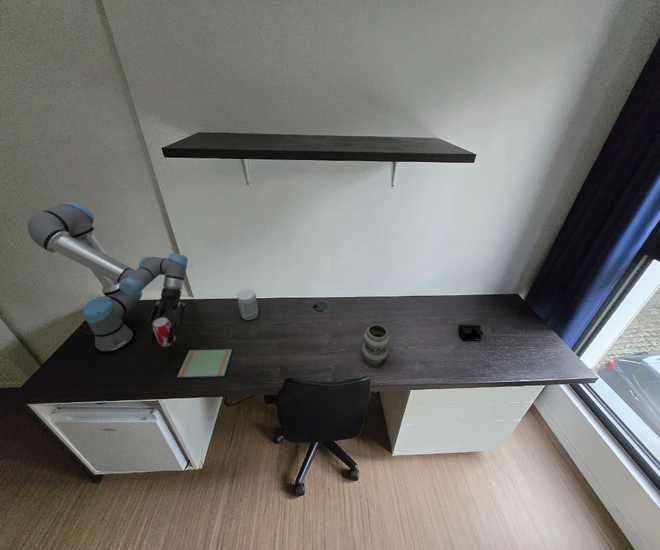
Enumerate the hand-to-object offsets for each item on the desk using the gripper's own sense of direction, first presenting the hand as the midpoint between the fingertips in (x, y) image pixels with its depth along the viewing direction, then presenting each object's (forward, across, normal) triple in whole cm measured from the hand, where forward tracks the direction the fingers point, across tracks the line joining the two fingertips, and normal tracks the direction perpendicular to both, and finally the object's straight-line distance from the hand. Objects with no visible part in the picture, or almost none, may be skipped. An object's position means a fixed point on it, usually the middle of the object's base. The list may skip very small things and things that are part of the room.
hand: (161, 341), depth 123 cm
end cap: (-17, -142, -39) cm, 148 cm away
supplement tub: (-16, -23, -38) cm, 47 cm away
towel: (+8, -15, -13) cm, 22 cm away
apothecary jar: (-1, -92, -23) cm, 95 cm away
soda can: (0, 0, -5) cm, 5 cm away
